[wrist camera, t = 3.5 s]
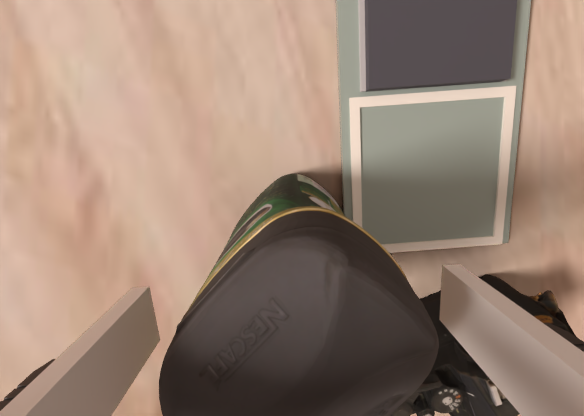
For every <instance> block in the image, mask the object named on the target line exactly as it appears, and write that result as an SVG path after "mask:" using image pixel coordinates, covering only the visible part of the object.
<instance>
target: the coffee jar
mask: <svg viewBox="0 0 584 416" xmlns="http://www.w3.org/2000/svg"><path fill="white" fill-rule="evenodd" d="M438 349H439V339H438V335H437V331H436V329H435V327H434V324H433V322H432V320H431V318H430V316H429V314H428V312H427V310H426V309H425V307H424V305H423V303H422V301H421V300H420V299H419V298H418V296H417V295H416V294H415V293H414V291H413V289H412V287H411V286H410V284H409V282H408V281H407V278H406V276H405V274H404V273H403V271H402V269H401V268H400V266H399V265H398V263H397V262H396V261H395V260H394V258H393V257H392V256H391V255H390V254H389V252H388V251H387V250H386V249H385V248H384V247H383V246H382V245H381V244H380V243H379V242H378V241H377V240H376V239H375V238H374V237H373V236H371V235H370V234H369V233H368V232H367V231H366V230H364V229H363V228H362V227H360V226H359V225H357V224H356V223H354V222H353V221H351V220H350V219H348V218H347V217H345V215H344V213H343V211H342V209H341V208H340V206H339V205H338V203H337V202H336V201H335V200H334V198H333V197H332V196H331V195H330V194H329V193H328V192H327V191H326V190H325V189H324V188H323V187H322V186H320V185H319V184H318V183H316V182H315V181H313V180H312V179H310V178H308V177H306V176H304V175H300V174H288V175H285V176H282V177H280V178H279V179H277V180H276V181H275V182H273V183H272V184H271V185H270V186H269V187H268V188H267V189H265V190H264V191H263V192H262V193H261V194H260V195H259V196H258V198H257V199H256V200H255V201H254V202H253V203H252V204H251V205H250V207H249V208H248V209H247V210H246V212H245V213H244V214H243V216H242V217H241V219H240V220H239V222H238V223H237V225H236V227H235V229H234V231H233V233H232V235H231V237H230V239H229V241H228V243H227V245H226V246H225V248H224V250H223V252H222V254H221V255H220V257H219V259H218V261H217V263H216V264H215V266H214V268H213V269H212V271H211V273H210V275H209V276H208V278H207V279H206V281H205V283H204V284H203V286H202V288H201V289H200V291H199V293H198V294H197V296H196V298H195V299H194V301H193V303H192V304H191V306H190V308H189V309H188V311H187V313H186V314H185V315H184V317H183V319H182V321H181V322H180V323H179V324H178V326H177V330H176V333H175V336H174V338H173V340H172V342H171V344H170V346H169V348H168V350H167V352H166V355H165V358H164V361H163V364H162V368H161V372H160V379H159V400H160V405H161V410H162V414H163V416H390V415H391V414H392V413H393V412H394V411H395V410H396V409H397V408H398V407H399V406H400V405H401V404H402V403H403V402H405V401H406V400H407V399H408V398H409V397H410V396H411V395H412V394H413V393H414V392H415V391H416V390H417V389H418V388H419V387H420V385H421V384H422V383H423V382H424V380H425V379H426V378H427V376H428V375H429V373H430V371H431V369H432V367H433V365H434V363H435V360H436V357H437V354H438Z"/></svg>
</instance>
